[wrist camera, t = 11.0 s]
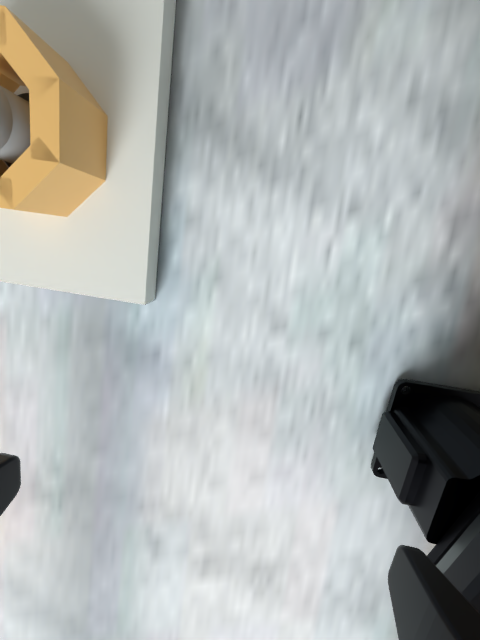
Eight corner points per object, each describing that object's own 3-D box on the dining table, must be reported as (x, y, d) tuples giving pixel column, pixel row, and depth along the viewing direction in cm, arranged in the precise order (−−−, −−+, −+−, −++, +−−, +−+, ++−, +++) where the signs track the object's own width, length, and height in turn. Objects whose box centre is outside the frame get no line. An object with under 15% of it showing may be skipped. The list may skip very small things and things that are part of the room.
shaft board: (176, -7, 15) (112, -178, 9) (154, 300, 18) (99, 326, 12) (-57, -29, 15) (-262, -200, 9) (-32, 270, 19) (-168, 281, 13)
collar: (109, 66, 14) (58, 11, 11) (104, 222, 16) (59, 216, 13) (-31, 50, 15) (-121, -8, 11) (-21, 203, 16) (-96, 193, 13)
